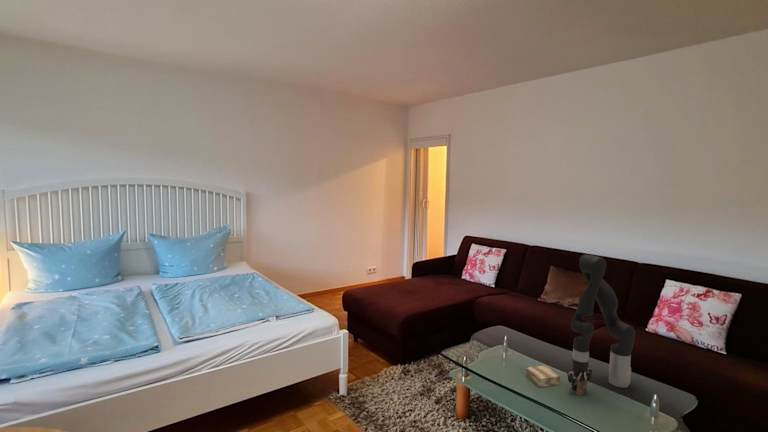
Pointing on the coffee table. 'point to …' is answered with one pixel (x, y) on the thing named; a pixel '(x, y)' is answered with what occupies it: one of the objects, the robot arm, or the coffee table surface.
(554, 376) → the birch block
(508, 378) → the coffee table surface
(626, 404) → the coffee table surface
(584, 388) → the walnut block
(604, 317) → the robot arm
